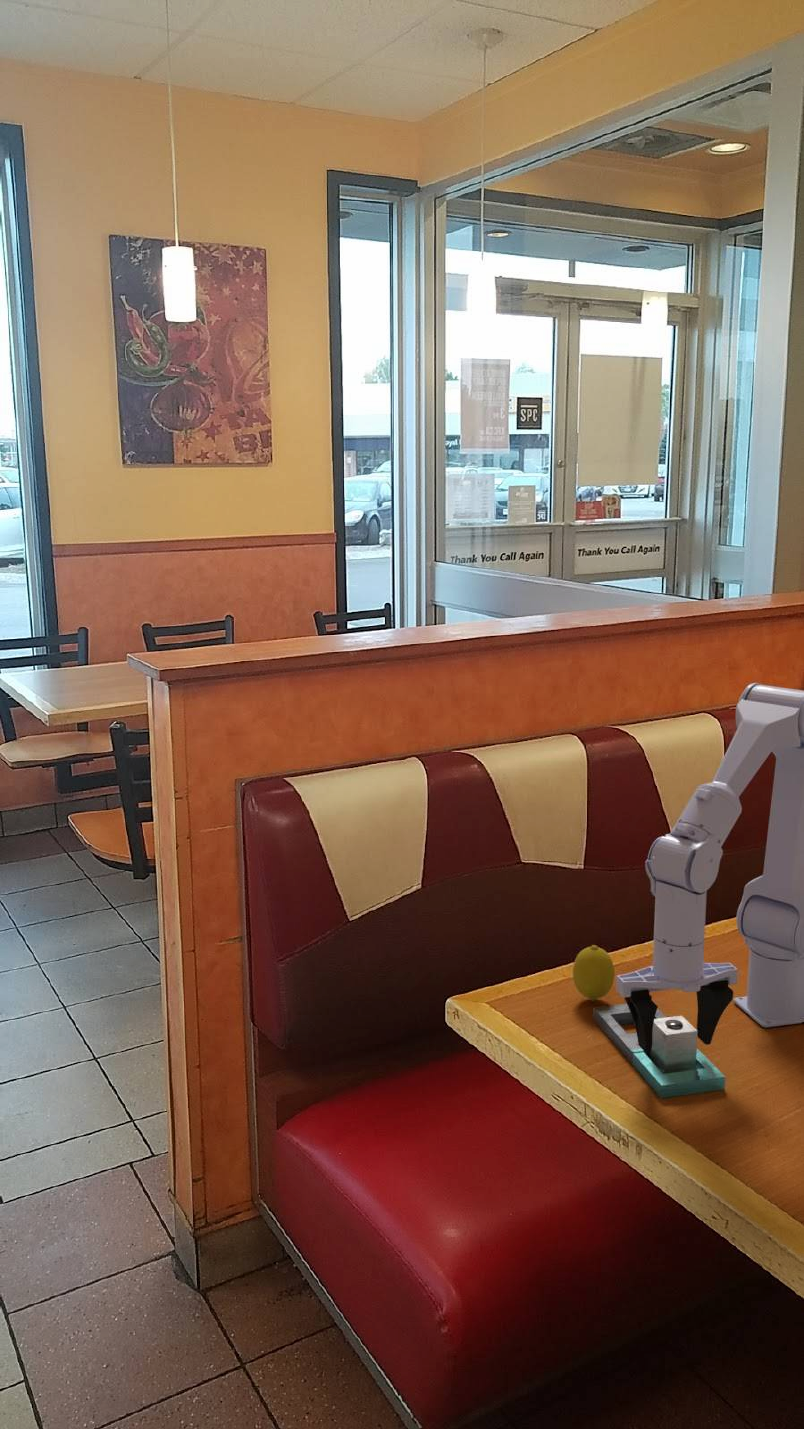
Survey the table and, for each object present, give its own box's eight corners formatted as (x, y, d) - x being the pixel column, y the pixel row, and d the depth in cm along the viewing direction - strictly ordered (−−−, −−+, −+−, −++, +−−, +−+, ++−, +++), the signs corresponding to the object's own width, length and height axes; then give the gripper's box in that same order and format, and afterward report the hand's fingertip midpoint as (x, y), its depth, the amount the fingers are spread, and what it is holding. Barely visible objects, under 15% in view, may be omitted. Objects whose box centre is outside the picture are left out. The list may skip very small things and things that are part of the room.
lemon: (613, 1011, 150) (614, 955, 149) (571, 1008, 151) (572, 952, 150) (614, 993, 155) (615, 938, 154) (573, 990, 157) (574, 936, 155)
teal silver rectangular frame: (649, 1012, 150) (650, 1000, 150) (724, 1089, 131) (725, 1075, 130) (593, 1018, 148) (593, 1007, 148) (661, 1098, 129) (661, 1084, 129)
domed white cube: (679, 1061, 137) (681, 1013, 136) (695, 1077, 134) (697, 1029, 132) (649, 1065, 136) (651, 1017, 135) (664, 1081, 133) (666, 1033, 131)
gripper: (635, 957, 126) (631, 1068, 129) (753, 944, 129) (747, 1053, 132) (610, 933, 133) (607, 1039, 135) (722, 921, 136) (717, 1025, 138)
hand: (674, 1044), depth 134 cm, fingers open, 7 cm apart
